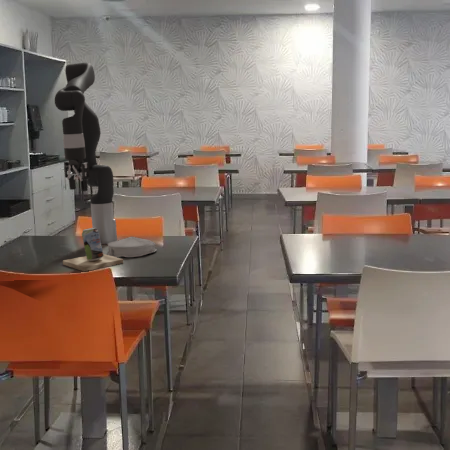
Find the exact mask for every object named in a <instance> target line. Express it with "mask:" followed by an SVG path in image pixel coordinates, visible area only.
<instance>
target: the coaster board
mask: <svg viewBox="0 0 450 450" xmlns="http://www.w3.org/2000/svg"><path fill="white" fill-rule="evenodd" d="M120 263H122V264H124V259H123V258H121V257H120V258H117V257H114V256H109V255H108V254H105V253H103V257H102V258H101V259H98V260H94V261H89V260H88V259H87V257H86V255H85V256H79V257H75V258H68V259H64V260H62V266H63V265H64V266H67V267H69V268H71V269H75V270H79V271H81V270H82V272H89V271H92V270H97V269H103V268H108V267H112V265H113V266H117V265H121V264H120ZM116 264H117V265H116ZM88 270H89V271H88Z"/></svg>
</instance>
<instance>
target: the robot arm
mask: <svg viewBox="0 0 450 450" xmlns="http://www.w3.org/2000/svg"><path fill="white" fill-rule="evenodd" d="M64 69H65V70H64V71H65V79H66V82H67V84H66V85H65V87H63V88H61V89H59V90H58V91H57V92H56V93H55V96H54V106H55V107H56V108H57V110H59V111H62V112H66V111H68V112H71V111H73V112H74V114H73V115H72V116H69V117H65V118H63V119H62V121H61V124H62V126H61V127H62V133H63V134H62V135H63V140H62V141H63V151H64V159H65V160H66V161H64V162H63V168H64V178H67V180H68V185H69V186H68V187H69V190H71V191H73V190H76V189H77V187H76V179H75V177H78V178H79V180H80V188H81V192H87V191H88V186H89V187H93V188H94V187H95V188H97V192H96V193H95V194H93V195H92V196H90V212H91V213H90V214H91V224H92V226H91V228H96V229H97V230H98V232H99V237H100V242H101V245H106V244H107V245H108V244H109V243H111V242H114V241H116V240H117V241H118V234H117V233H118V232H117V221H116V219H115V218H114V204H113V197H114V173H113V170H112V168H111V167H110V166H109V165H106V164H98V162H97V153H96V151H97V148H98V145H99V142H100V139H101V128H100V120H99V117H98V115H97V114H96V112H95V111H94V110H93V109H92V107H90V106H89V105H88V103H87V102H86V98H85V92H86V91H87V90H88V89H89V88H90V87H91V86H93V84H94V83H95V79H96V77H95V76H96V73H95V69H94V67H93V64H91V62H80V63H72V64H67V65H66V66H65V68H64Z"/></svg>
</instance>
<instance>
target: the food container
mask: <svg viewBox="0 0 450 450" xmlns="http://www.w3.org/2000/svg"><path fill="white" fill-rule="evenodd" d="M156 245H157V244H156V243H155V242H154V241H152V240H150V239H144V238H140V237H137V236H129V237H126V238H123V239H119V240H118V239H117V240H116V241H114V242H111V243H108V244H107V246H108V251H107V255H109V256H113V257H120V258H122V257H125V258H134V257H143V256H146V255H148V254H153V253H155V252H156V251H157V248H156Z"/></svg>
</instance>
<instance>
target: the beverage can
mask: <svg viewBox="0 0 450 450" xmlns="http://www.w3.org/2000/svg"><path fill="white" fill-rule="evenodd" d="M81 237H82V242H83V246H84V251H85V256H86V257H87V259H88V260H89V261H94V260H98V259H101V258H102V257H103V254H104V252H103V248H102V244H101V242H100V237H99V232H98V230H97V229H96V228H92V227H90V228H86V229H82V232H81Z"/></svg>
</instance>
